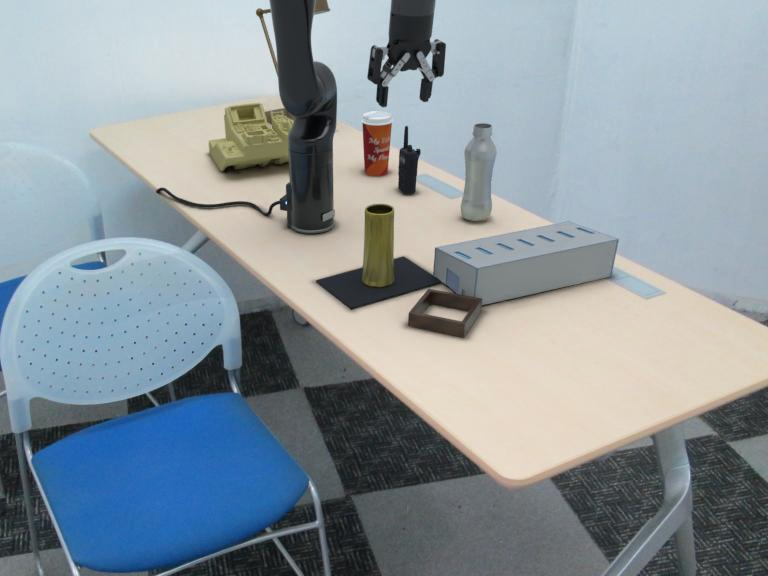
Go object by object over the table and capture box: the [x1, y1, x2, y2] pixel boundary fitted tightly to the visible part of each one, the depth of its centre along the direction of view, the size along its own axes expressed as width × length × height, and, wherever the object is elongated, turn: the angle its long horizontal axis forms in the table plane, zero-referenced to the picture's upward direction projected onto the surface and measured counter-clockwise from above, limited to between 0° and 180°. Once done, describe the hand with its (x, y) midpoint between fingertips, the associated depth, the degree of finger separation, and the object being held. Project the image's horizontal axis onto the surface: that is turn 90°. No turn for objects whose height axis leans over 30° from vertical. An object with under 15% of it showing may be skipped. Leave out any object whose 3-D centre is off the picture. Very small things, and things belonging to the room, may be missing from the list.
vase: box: [362, 203, 395, 288], centre depth 158 cm, size 6×6×14 cm
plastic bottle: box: [459, 122, 498, 222], centre depth 180 cm, size 6×7×20 cm
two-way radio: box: [397, 125, 422, 195], centre depth 196 cm, size 6×4×15 cm
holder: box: [407, 288, 483, 338], centre depth 149 cm, size 10×10×3 cm
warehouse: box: [432, 221, 620, 306], centre depth 160 cm, size 30×14×8 cm, turn 112°
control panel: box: [208, 102, 294, 172], centre depth 217 cm, size 24×16×20 cm
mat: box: [315, 256, 443, 310], centre depth 162 cm, size 20×13×1 cm, turn 118°
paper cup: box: [360, 110, 394, 177], centre depth 207 cm, size 8×8×14 cm
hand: (403, 103), depth 157 cm, fingers open, 8 cm apart
